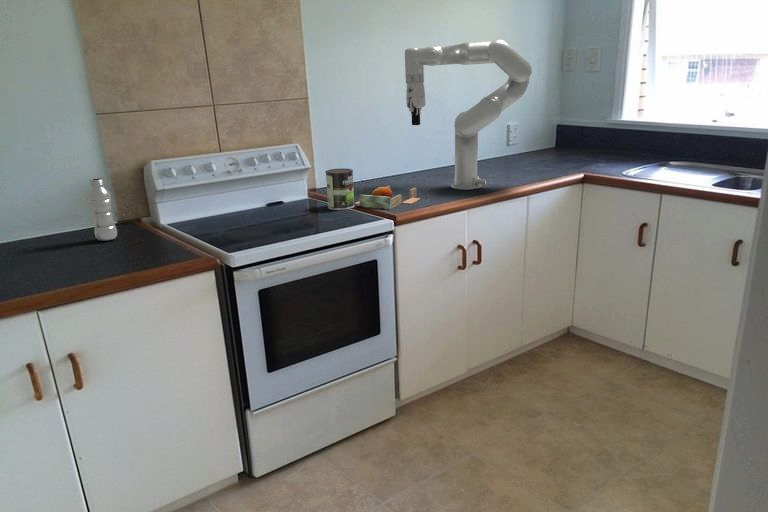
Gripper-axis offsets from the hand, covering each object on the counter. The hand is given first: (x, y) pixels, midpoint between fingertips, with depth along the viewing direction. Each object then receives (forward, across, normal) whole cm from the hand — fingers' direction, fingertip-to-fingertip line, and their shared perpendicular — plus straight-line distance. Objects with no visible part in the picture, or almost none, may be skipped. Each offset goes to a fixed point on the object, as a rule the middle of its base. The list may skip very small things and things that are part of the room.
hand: (416, 124), depth 247 cm
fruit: (+27, -34, +1) cm, 43 cm away
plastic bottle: (+26, -107, +66) cm, 128 cm away
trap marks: (+27, -28, +1) cm, 39 cm away
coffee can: (+27, -42, +14) cm, 52 cm away
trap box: (+27, -28, +1) cm, 39 cm away
